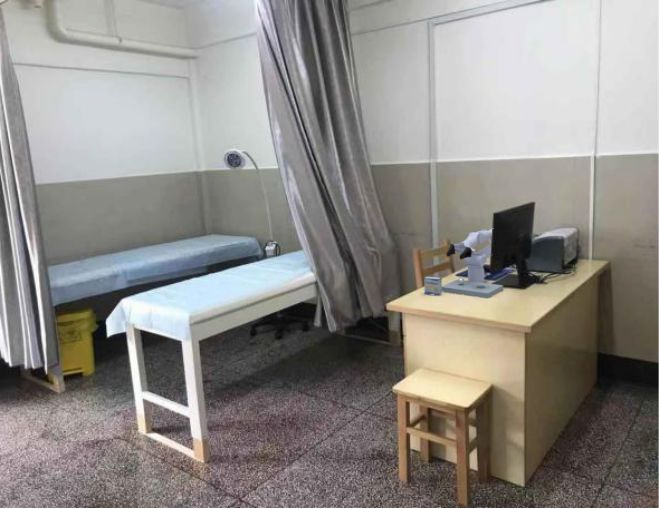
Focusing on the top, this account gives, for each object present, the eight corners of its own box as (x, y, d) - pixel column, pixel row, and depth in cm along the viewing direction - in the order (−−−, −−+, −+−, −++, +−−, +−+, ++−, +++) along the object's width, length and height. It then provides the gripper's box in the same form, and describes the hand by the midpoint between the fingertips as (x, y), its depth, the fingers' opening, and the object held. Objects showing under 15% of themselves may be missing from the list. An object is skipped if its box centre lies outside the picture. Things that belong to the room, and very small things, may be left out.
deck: (440, 291, 285) (440, 286, 285) (457, 284, 299) (457, 279, 298) (488, 298, 269) (488, 293, 268) (503, 290, 282) (503, 285, 281)
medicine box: (424, 294, 281) (424, 278, 280) (427, 292, 285) (426, 276, 284) (439, 295, 278) (439, 279, 276) (441, 293, 282) (441, 277, 280)
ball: (459, 283, 289) (459, 277, 289) (465, 284, 287) (465, 277, 286) (456, 285, 287) (456, 278, 286) (462, 285, 285) (462, 279, 284)
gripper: (454, 236, 293) (440, 246, 285) (479, 240, 284) (465, 251, 275) (455, 247, 296) (442, 258, 288) (480, 252, 287) (466, 264, 279)
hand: (453, 256), depth 282 cm, fingers open, 7 cm apart
